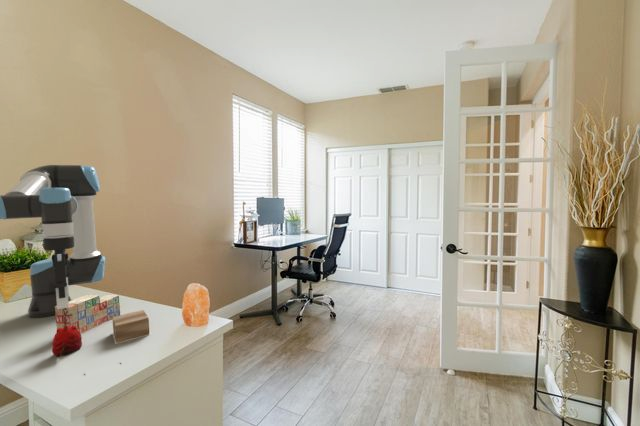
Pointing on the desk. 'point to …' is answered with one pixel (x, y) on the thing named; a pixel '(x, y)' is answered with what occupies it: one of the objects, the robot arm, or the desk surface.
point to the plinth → (130, 326)
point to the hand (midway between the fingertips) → (63, 302)
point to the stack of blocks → (88, 311)
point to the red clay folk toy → (66, 339)
